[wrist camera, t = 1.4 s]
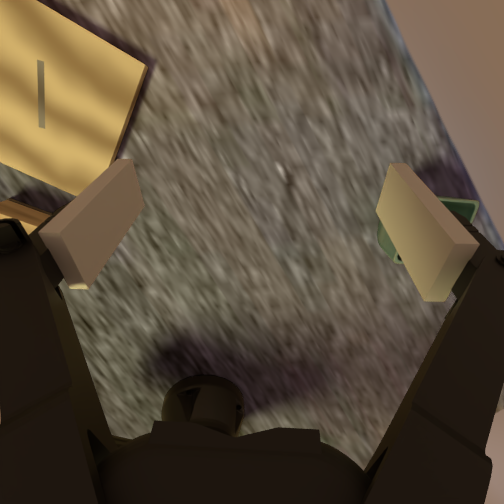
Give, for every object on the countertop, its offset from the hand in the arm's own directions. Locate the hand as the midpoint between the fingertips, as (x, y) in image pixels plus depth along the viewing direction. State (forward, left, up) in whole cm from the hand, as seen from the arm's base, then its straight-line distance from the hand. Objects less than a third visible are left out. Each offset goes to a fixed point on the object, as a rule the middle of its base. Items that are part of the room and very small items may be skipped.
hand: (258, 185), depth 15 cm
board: (-6, +28, -25) cm, 38 cm away
